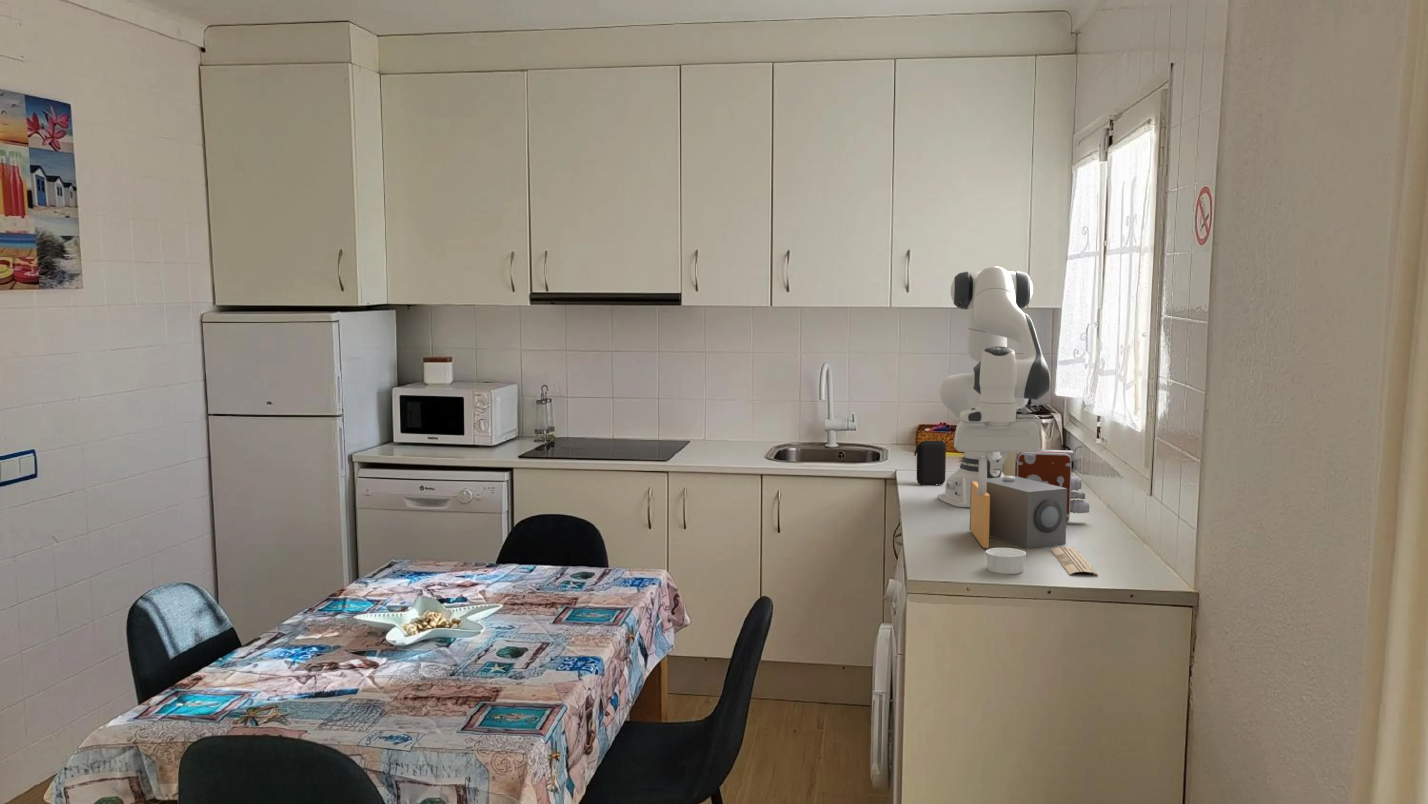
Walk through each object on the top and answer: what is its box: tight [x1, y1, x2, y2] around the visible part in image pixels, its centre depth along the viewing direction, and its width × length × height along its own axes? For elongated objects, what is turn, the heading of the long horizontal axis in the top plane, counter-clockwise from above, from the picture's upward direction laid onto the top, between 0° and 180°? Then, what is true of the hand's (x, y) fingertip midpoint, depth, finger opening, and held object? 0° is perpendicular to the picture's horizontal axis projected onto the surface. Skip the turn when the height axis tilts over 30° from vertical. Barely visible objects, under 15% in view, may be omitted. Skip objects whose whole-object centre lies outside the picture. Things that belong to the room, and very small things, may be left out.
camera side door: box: [969, 456, 990, 549], centre depth 270 cm, size 21×2×22 cm, turn 176°
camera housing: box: [987, 476, 1067, 549], centre depth 273 cm, size 21×12×15 cm, turn 23°
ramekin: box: [985, 547, 1027, 575], centre depth 242 cm, size 9×9×4 cm
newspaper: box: [1051, 546, 1099, 577], centre depth 248 cm, size 24×7×2 cm, turn 172°
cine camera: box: [1015, 448, 1090, 525], centre depth 292 cm, size 9×19×20 cm, turn 78°
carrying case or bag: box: [913, 440, 947, 486], centre depth 350 cm, size 11×3×15 cm, turn 99°
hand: (996, 470), depth 262 cm, fingers closed
